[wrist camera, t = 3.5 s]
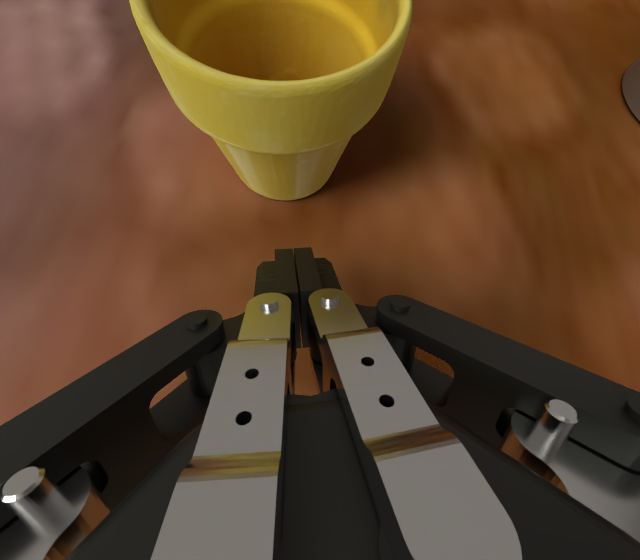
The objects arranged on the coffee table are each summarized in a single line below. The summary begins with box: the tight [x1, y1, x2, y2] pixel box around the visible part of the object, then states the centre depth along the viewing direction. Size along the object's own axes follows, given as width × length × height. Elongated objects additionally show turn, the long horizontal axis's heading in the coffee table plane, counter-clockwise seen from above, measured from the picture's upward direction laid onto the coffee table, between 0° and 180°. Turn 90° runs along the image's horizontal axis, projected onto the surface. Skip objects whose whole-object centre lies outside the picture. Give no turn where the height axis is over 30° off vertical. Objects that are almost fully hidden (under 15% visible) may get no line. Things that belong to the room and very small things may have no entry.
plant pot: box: [129, 0, 412, 200], centre depth 16 cm, size 10×10×10 cm
